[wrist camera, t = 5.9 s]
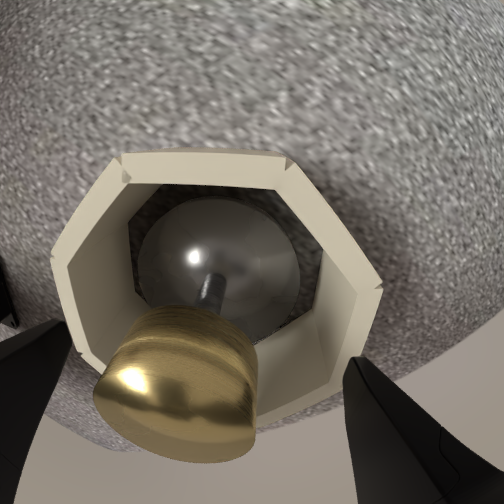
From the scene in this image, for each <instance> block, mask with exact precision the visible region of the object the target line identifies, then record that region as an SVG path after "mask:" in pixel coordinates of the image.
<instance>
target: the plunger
mask: <svg viewBox="0 0 504 504" xmlns="http://www.w3.org/2000/svg"><path fill="white" fill-rule="evenodd" d="M138 277H139V283H140V286H141V290H142V293H143V295H144V297H145V299H146V301H147V303H148V305H149V306H150V308H151V309H150V310H148V311H146V312H145V313H143V314H142V315H140V316H139V317H138V318H137V319H136V320H135V321H134V323H133V325H132V326H131V328H130V329H129V331H128V333H127V334H126V336H125V337H124V339H123V341H122V342H121V344H120V345H119V347H118V349H117V350H116V352H115V354H114V355H113V357H112V359H111V360H110V362H109V364H108V365H107V367H106V369H105V370H104V372H103V374H102V375H101V377H100V379H99V381H98V382H97V384H96V386H95V388H94V391H93V400H94V403H95V406H96V408H97V410H98V412H99V413H100V415H101V416H102V418H103V419H104V420H105V421H106V422H107V423H108V424H109V425H110V427H112V428H113V429H114V430H115V431H116V432H117V433H119V434H120V435H121V436H123V437H124V438H126V439H127V440H129V441H130V442H132V443H134V444H135V445H137V446H139V447H141V448H143V449H145V450H147V451H150V452H152V453H155V454H158V455H160V456H164V457H167V458H170V459H174V460H179V461H184V462H193V463H218V462H225V461H230V460H233V459H236V458H238V457H241V456H243V455H244V454H246V453H247V452H248V451H249V450H250V449H251V448H252V447H253V445H254V442H255V433H256V410H257V386H258V356H257V353H256V350H255V348H254V346H253V344H252V342H255V341H257V340H260V339H262V338H264V337H266V336H268V335H269V334H271V333H272V332H273V331H275V330H276V329H277V328H278V327H279V326H280V325H281V324H283V322H284V321H285V320H286V319H287V317H288V316H289V315H290V313H291V311H292V310H293V308H294V305H295V303H296V301H297V297H298V293H299V288H300V270H299V265H298V261H297V257H296V253H295V250H294V247H293V245H292V242H291V241H290V239H289V237H288V235H287V233H286V232H285V231H284V229H283V228H282V227H281V225H280V224H279V223H278V222H277V221H276V220H275V219H274V218H273V217H271V216H270V215H269V214H268V213H266V212H265V211H264V210H262V209H260V208H259V207H257V206H255V205H253V204H251V203H248V202H246V201H243V200H240V199H236V198H232V197H225V196H206V197H199V198H195V199H192V200H188V201H186V202H184V203H182V204H179V205H178V206H176V207H175V208H173V209H171V210H170V211H169V212H167V213H166V214H165V215H164V216H162V217H161V218H160V219H159V220H158V221H157V222H156V223H155V224H154V225H153V226H152V228H151V229H150V230H149V232H148V233H147V235H146V237H145V238H144V241H143V243H142V246H141V248H140V253H139V257H138Z"/></svg>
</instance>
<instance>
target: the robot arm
mask: <svg viewBox="0 0 504 504" xmlns="http://www.w3.org/2000/svg"><path fill="white" fill-rule="evenodd" d="M0 323H2V324H4V325H7V326H9V327H11V328H14V329H17V328H18V327H19V322H18V319H17V317H16V314H15V311H14V309H13V306H12V303H11V300H10V297H9V294H8V291H7V288H6V285H5V281H4V278H3V274H2V271H1V267H0ZM71 346H72V339H71V336H70V333H69V331H68V328H67V325H66V323H65V321H63V320H60V319H56V318H55V319H52V320H49V321H47V322H45V323H42V324H40V325H38V326H35V327H33V328H31V329H29V330H26V331H24V332H22V333H20V334H17V335H15V336H13V337H11V338H8V339H6V340H4V341H2V342H0V504H13V503H14V499H15V495H16V491H17V488H18V484H19V480H20V477H21V474H22V472H21V471H22V470H23V467H24V464H25V461H26V458H27V455H28V452H29V449H30V446H31V444H32V441H33V438H34V435H35V433H36V430H37V428H38V425H39V423H40V421H41V418H42V416H43V413H44V411H45V409H46V406H47V404H48V402H49V400H50V398H51V395H52V393H53V391H54V389H55V387H56V385H57V382H58V380H59V377H60V375H61V372H62V369H63V367H64V364H65V361H66V359H67V356H68V354H69V351H70V349H71ZM342 385H343V397H344V409H345V424H346V431H347V436H348V442H349V448H350V453H351V459H352V466H353V472H354V478H355V485H356V492H357V499H358V504H504V472H503V471H501V470H499V469H497V468H496V467H495V466H493V465H492V464H490V463H489V462H487V461H486V460H485V459H483V458H482V457H480V456H479V455H477V454H476V453H474V452H473V451H472V450H470V449H469V448H468V447H466V446H465V445H464V444H462V443H461V442H460V441H459V440H458V439H456V438H455V437H454V436H453V435H452V434H450V433H449V432H448V431H447V430H446V429H445V428H444V427H441V425H440V424H439V423H438V422H437V421H436V420H435V419H434V418H432V417H431V416H430V415H429V414H428V413H427V412H426V411H425V410H424V409H423V408H421V407H420V406H419V405H418V404H417V403H416V402H415V401H413V399H411V398H410V397H409V396H408V395H407V394H406V393H405V392H404V391H403V390H401V389H400V388H399V387H398V386H397V385H396V384H395V383H394V382H393V381H391V380H390V379H389V378H388V377H387V376H386V375H385V374H384V373H383V372H381V371H380V370H379V369H378V368H377V367H376V366H375V365H374V364H373V363H372V362H370V361H369V360H368V359H367V358H366V357H364V356H353V357H351V358H350V360H349V362H348V364H347V367H346V370H345V372H344V375H343V379H342Z"/></svg>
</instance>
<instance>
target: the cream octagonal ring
mask: <svg viewBox="0 0 504 504" xmlns="http://www.w3.org/2000/svg"><path fill="white" fill-rule="evenodd" d="M162 184H194V185H215V186H233V187H247V188H261V189H273V190H276V192H277V193H278V194H279V195H280V196H281V197H282V199H283V200H284V201H285V202H286V203H287V205H288V206H289V207H290V208H291V209H292V211H293V212H294V213H295V214H296V215H297V217H298V218H299V219H300V220H301V221H302V223H303V224H304V225H305V226H306V228H307V229H308V230H309V231H310V233H311V234H312V235H313V236H314V238H315V239H316V240H317V241H318V243H319V244H320V245H321V246H322V248H323V253H322V258H321V264H320V269H319V275H318V280H317V285H316V290H315V295H314V300H313V305H312V309H310V310H309V311H307V312H306V313H304V314H303V315H301V316H300V317H298V318H297V319H295V320H294V321H292V322H291V323H289V324H288V325H286V326H285V327H283V328H282V329H280V330H278V331H277V332H275V333H274V334H272V335H271V336H269V337H267V338H266V339H264V340H262V341H261V342H259V343H258V344H256V345H253V346H254V348H255V350H256V353H257V356H258V386H257V410H256V427H257V428H261V427H264V426H266V425H269V424H271V423H274V422H276V421H279V420H281V419H283V418H286V417H288V416H290V415H293V414H295V413H297V412H299V411H301V410H304V409H306V408H308V407H310V406H312V405H314V404H316V403H318V402H320V401H322V400H324V399H326V398H328V397H330V396H332V395H334V394H336V393H338V392H340V391H341V390H343V385H342V379H343V375H344V372H345V370H346V367H347V364H348V362H349V360H350V358H351V357H353V356H360V355H361V353H362V350H363V347H364V345H365V342H366V340H367V337H368V334H369V331H370V329H371V326H372V323H373V320H374V317H375V314H376V311H377V308H378V305H379V302H380V299H381V296H382V293H383V288H382V287H381V285H380V284H381V283H382V280H381V279H380V277H379V276H378V274H377V272H376V271H375V269H374V268H373V266H372V265H371V263H370V262H369V260H368V259H367V257H366V256H365V254H364V253H363V252H362V250H361V249H360V247H359V246H358V244H357V243H356V241H355V240H354V239H353V237H352V236H351V234H350V233H349V232H348V230H347V229H346V227H345V226H344V225H343V223H342V222H341V220H340V219H339V218H338V216H337V215H336V214H335V212H334V211H333V210H332V208H331V207H330V206H329V204H328V203H327V202H326V200H325V199H324V198H323V197H322V195H321V194H320V193H319V191H318V190H317V189H316V188H315V186H314V185H313V184H312V183H311V181H310V180H309V179H308V178H307V176H306V175H305V174H304V173H303V171H302V170H301V169H300V168H299V167H298V165H297V164H296V163H295V162H293V161H292V160H290V159H289V158H287V157H285V156H284V155H281V154H280V153H278V152H275V151H263V150H249V149H232V148H204V147H174V148H164V149H154V150H145V151H137V152H130V153H123V154H122V156H121V157H115V158H114V159H113V160H112V161H111V162H110V164H109V165H108V166H107V167H106V169H105V170H104V171H103V173H102V174H101V175H100V177H99V178H98V179H97V181H96V182H95V183H94V185H93V186H92V188H91V189H90V190H89V192H88V193H87V195H86V196H85V197H84V199H83V200H82V202H81V203H80V205H79V206H78V208H77V209H76V211H75V212H74V214H73V216H72V217H71V219H70V220H69V222H68V223H67V225H66V227H65V228H64V230H63V232H62V233H61V235H60V237H59V238H58V240H57V242H56V244H55V245H54V247H53V249H52V251H51V254H52V255H53V257H51V258H50V261H51V266H52V270H53V275H54V279H55V283H56V287H57V291H58V294H59V298H60V302H61V305H62V308H63V312H64V315H65V318H66V321H67V324H68V327H69V330H70V333H71V336H72V339H73V342H74V344H75V347H76V350H77V352H81V353H82V355H81V357H82V358H83V359H84V360H85V361H87V362H88V363H89V364H90V365H91V366H92V367H93V368H95V369H96V370H97V371H98V372H99V373H100V374H103V372H104V370H105V369H106V367H107V365H108V364H109V362H110V360H111V359H112V357H113V355H114V354H115V352H116V350H117V349H118V347H119V345H120V344H121V342H122V341H123V339H124V337H125V336H126V334H127V333H128V331H129V329H130V328H131V326H132V325H133V323H134V321H135V320H136V319H137V318H138V317H139V316H140V315H142V314H143V313H145V312H146V311H148V310H150V309H151V308H150V306H149V305H148V304H147V303H146V302H145V301H144V300H143V299H142V298H141V297H140V296H139V295H138V294H137V293H136V292H135V287H134V279H133V271H132V263H131V253H130V243H129V231H128V221H129V220H130V219H131V218H132V217H133V216H134V215H135V213H136V212H137V211H138V210H139V209H140V208H141V207H142V206H143V204H144V203H145V202H146V201H147V200H148V199H149V198H150V197H151V196H152V195H153V194H154V193H155V191H156V190H157V189H158V188H159V187H160V186H161V185H162Z"/></svg>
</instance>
